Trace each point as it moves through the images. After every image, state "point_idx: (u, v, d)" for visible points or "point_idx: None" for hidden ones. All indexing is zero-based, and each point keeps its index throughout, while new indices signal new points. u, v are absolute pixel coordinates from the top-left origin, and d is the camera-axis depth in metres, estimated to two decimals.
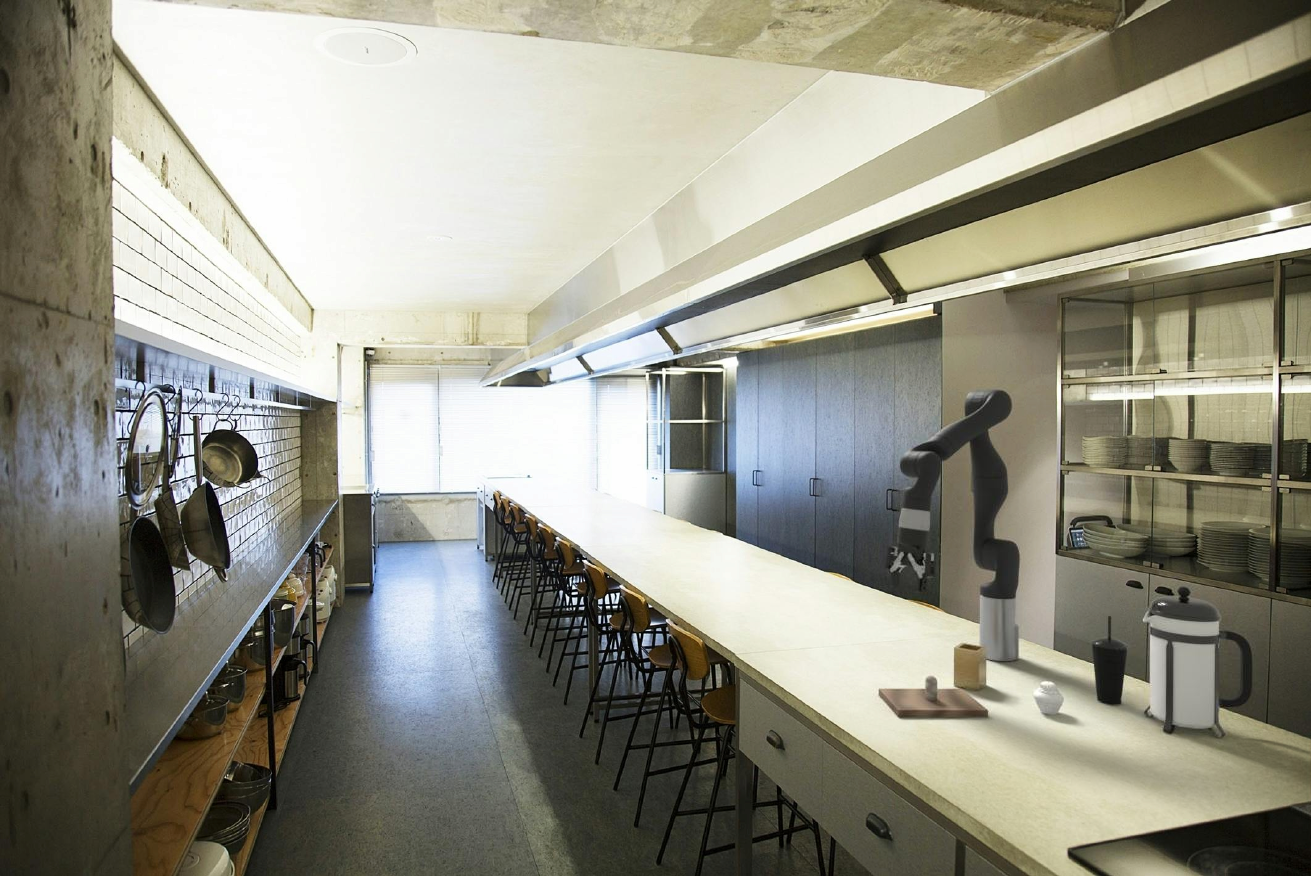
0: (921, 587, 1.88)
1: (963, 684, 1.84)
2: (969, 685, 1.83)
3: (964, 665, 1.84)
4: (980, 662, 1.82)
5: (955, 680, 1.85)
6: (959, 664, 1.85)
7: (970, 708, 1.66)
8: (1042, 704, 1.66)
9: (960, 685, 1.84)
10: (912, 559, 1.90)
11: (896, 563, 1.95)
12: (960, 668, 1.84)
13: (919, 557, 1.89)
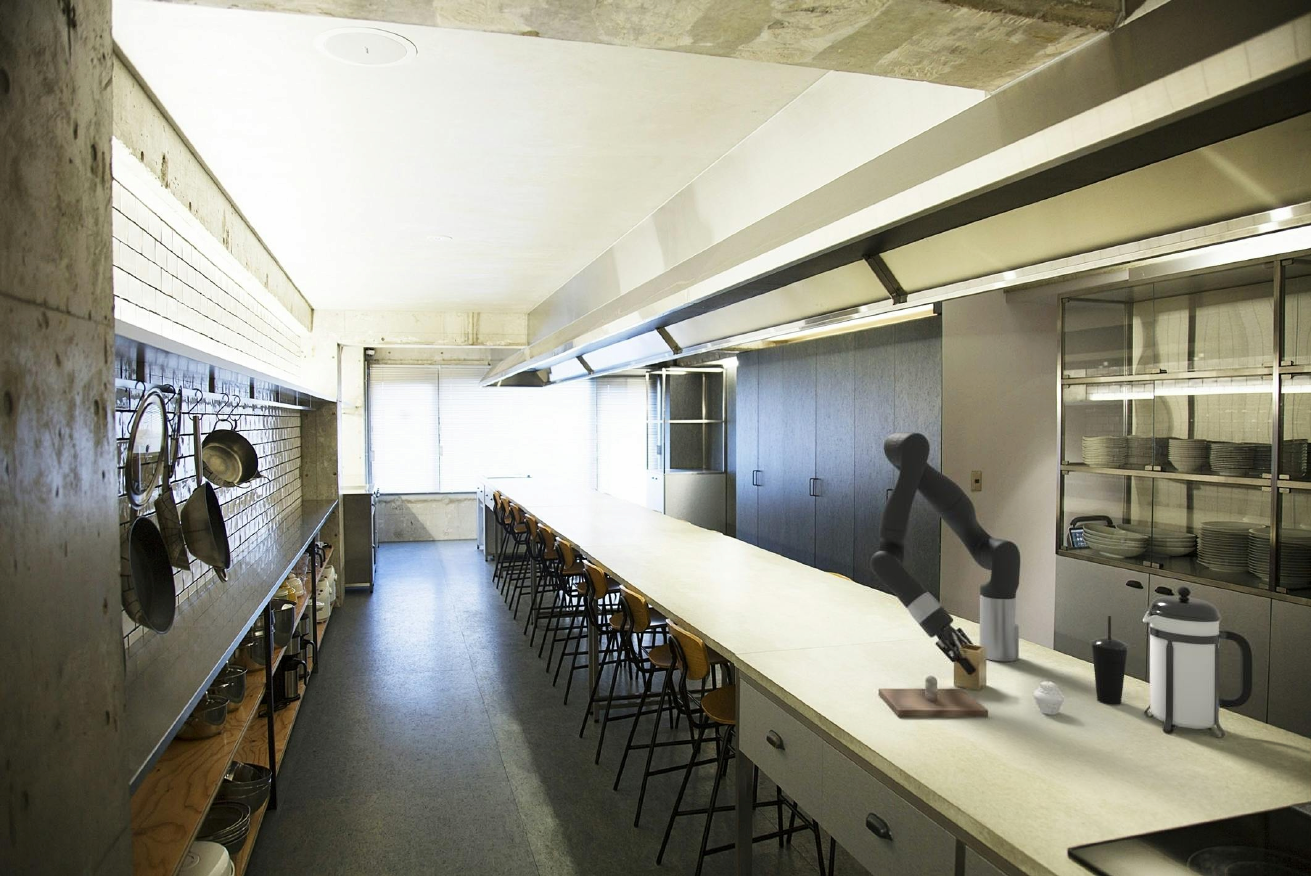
0: None
1: (963, 684, 1.84)
2: (969, 685, 1.83)
3: None
4: (980, 662, 1.82)
5: (955, 680, 1.85)
6: (959, 664, 1.85)
7: (970, 708, 1.66)
8: (1042, 704, 1.66)
9: (960, 685, 1.84)
10: None
11: None
12: (960, 668, 1.84)
13: None
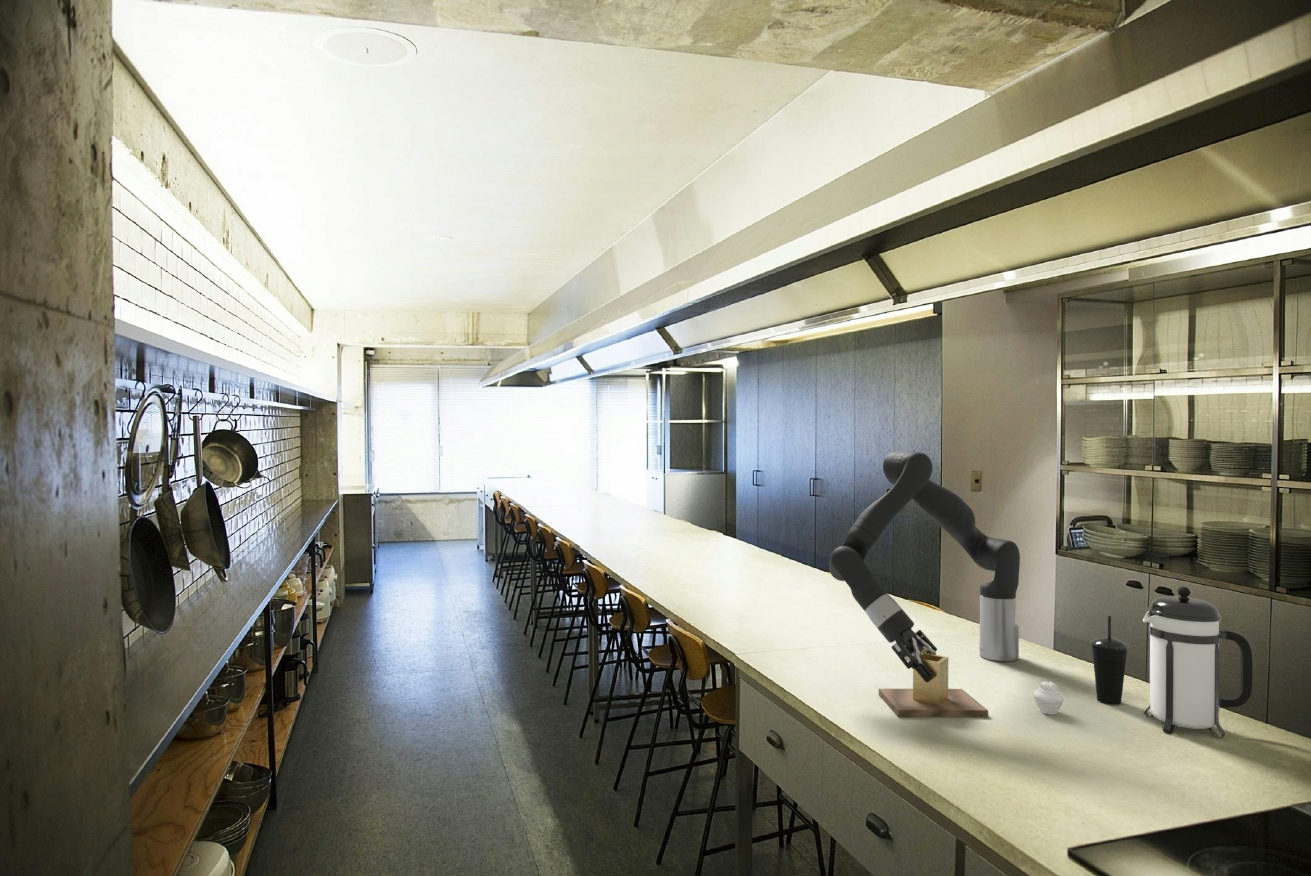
0: None
1: (922, 698, 1.70)
2: (929, 699, 1.69)
3: None
4: (941, 674, 1.68)
5: (914, 693, 1.71)
6: (918, 676, 1.71)
7: (970, 708, 1.66)
8: (1042, 704, 1.66)
9: (919, 699, 1.70)
10: None
11: None
12: (919, 680, 1.70)
13: None
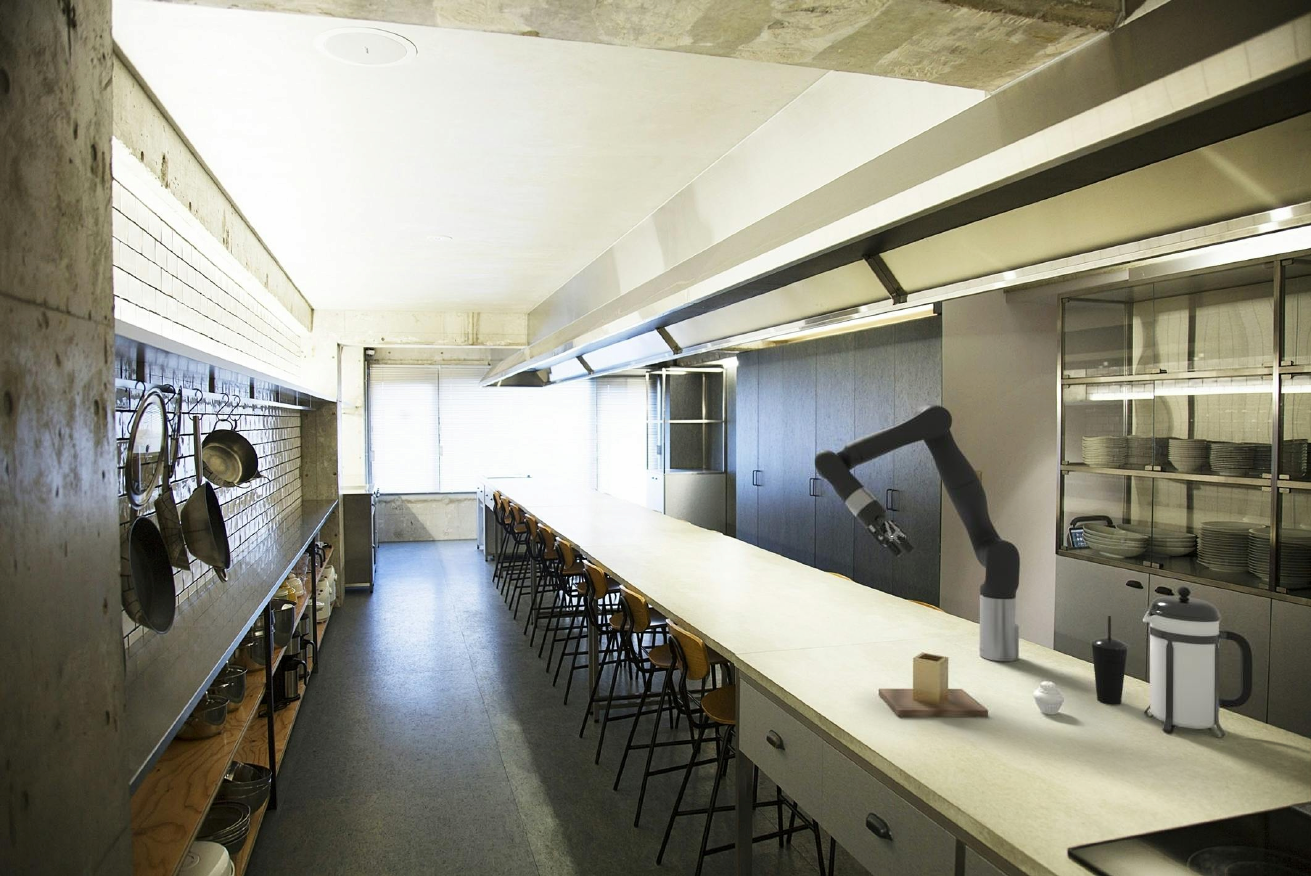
0: None
1: (922, 698, 1.70)
2: (929, 699, 1.69)
3: (924, 677, 1.70)
4: (941, 674, 1.68)
5: (914, 693, 1.71)
6: (918, 676, 1.71)
7: (970, 708, 1.66)
8: (1042, 704, 1.66)
9: (919, 699, 1.70)
10: None
11: None
12: (919, 680, 1.70)
13: None
